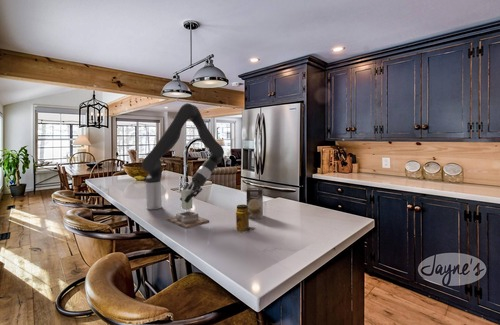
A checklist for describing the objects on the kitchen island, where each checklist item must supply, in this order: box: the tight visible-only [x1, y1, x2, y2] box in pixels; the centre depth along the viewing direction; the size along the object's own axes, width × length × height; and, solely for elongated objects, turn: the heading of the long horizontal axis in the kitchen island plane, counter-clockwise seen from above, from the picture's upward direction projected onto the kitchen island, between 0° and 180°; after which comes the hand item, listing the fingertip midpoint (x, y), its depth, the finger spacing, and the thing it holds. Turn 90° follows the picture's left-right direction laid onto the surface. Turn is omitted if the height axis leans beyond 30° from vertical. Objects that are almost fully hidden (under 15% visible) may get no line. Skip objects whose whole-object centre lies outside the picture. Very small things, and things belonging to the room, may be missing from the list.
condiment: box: [233, 204, 255, 234], centre depth 127 cm, size 7×8×12 cm
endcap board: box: [166, 210, 210, 229], centre depth 142 cm, size 20×14×4 cm
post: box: [180, 189, 193, 211], centre depth 141 cm, size 4×4×10 cm
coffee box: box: [246, 187, 264, 219], centre depth 147 cm, size 9×6×16 cm
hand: (183, 201), depth 139 cm, fingers closed on post, 4 cm apart
